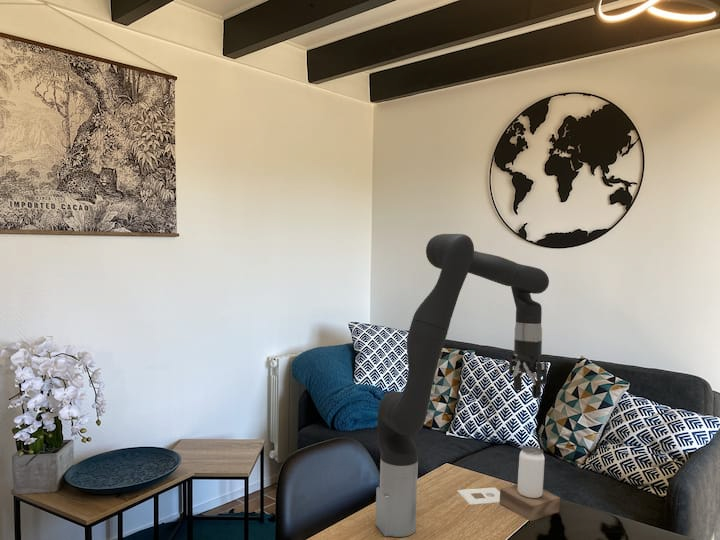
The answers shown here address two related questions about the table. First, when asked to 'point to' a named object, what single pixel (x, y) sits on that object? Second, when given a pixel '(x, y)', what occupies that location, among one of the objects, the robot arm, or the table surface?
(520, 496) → the base block
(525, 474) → the can
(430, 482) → the table surface
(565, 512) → the table surface
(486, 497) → the page
